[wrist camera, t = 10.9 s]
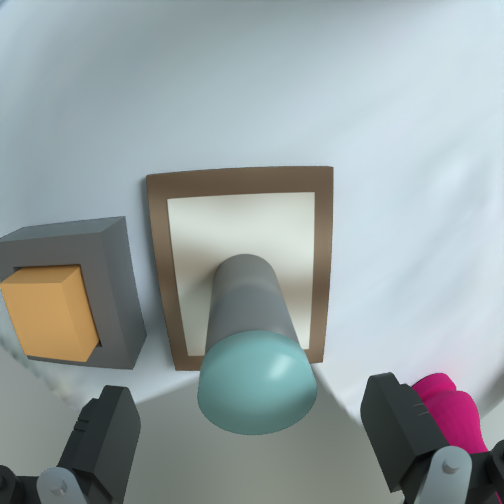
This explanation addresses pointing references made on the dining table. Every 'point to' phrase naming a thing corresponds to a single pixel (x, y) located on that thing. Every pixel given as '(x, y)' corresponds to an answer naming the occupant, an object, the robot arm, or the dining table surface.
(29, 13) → the dining table surface
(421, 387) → the pepper mill
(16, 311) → the button
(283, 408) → the marker
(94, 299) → the button housing
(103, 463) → the robot arm
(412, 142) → the dining table surface
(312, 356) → the board
